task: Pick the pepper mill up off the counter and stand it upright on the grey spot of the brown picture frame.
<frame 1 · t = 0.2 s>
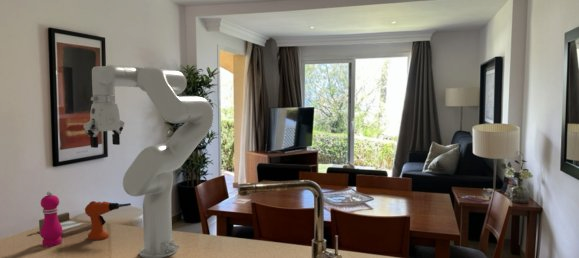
hand: (105, 145, 150), 37 cm above the counter, tool pointing down, fingers open, 9 cm apart
pepper mill: (52, 244, 151), on the counter
toy drill: (109, 238, 156), on the counter
brown picture frame: (65, 230, 166), on the counter
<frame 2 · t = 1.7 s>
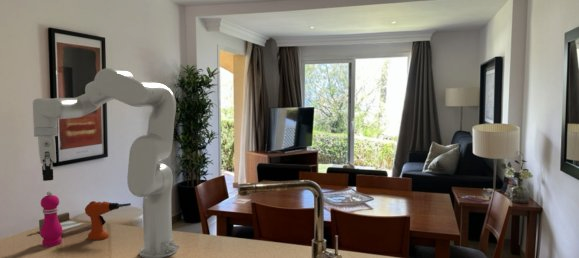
hand: (47, 177, 149), 25 cm above the counter, tool pointing down, fingers open, 9 cm apart
nothing on the counter moved.
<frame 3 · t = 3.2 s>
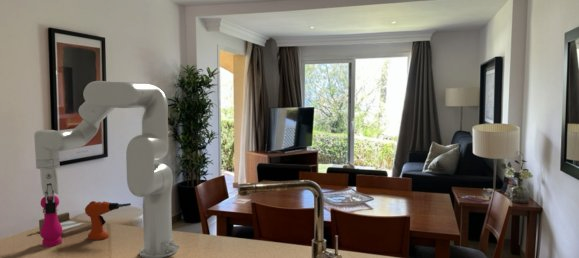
hand: (50, 210, 149), 13 cm above the counter, tool pointing down, fingers closed on pepper mill, 5 cm apart
pepper mill: (52, 244, 151), on the counter, touching gripper
everything else where it was.
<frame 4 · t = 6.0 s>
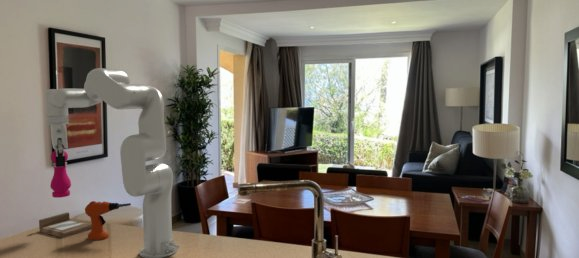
hand: (59, 164, 160), 28 cm above the counter, tool pointing down, fingers closed on pepper mill, 5 cm apart
pepper mill: (61, 196, 161), point 15 cm above the counter, touching gripper
everything else where it was.
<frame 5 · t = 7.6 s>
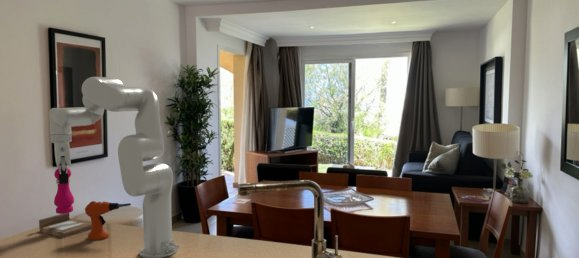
hand: (63, 181, 164), 20 cm above the counter, tool pointing down, fingers closed on pepper mill, 5 cm apart
pepper mill: (64, 212, 165), point 8 cm above the counter, touching gripper
everything else where it was.
when the fingers open (16 cm above the counter, at t = 8.9 s): pepper mill drops 1 cm, resting on brown picture frame.
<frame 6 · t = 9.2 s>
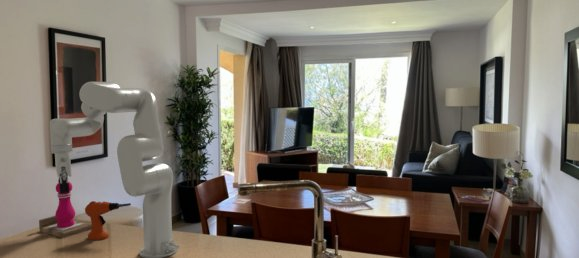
hand: (63, 190, 164), 17 cm above the counter, tool pointing down, fingers open, 8 cm apart
pepper mill: (65, 225, 165), point 2 cm above the counter, touching brown picture frame
everything else where it was.
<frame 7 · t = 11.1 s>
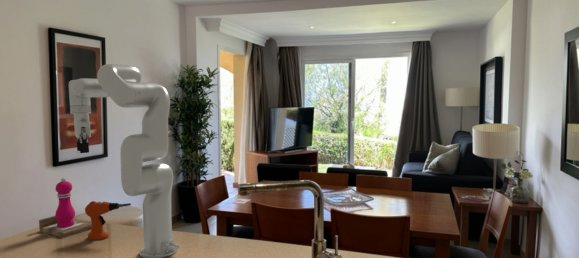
hand: (83, 151, 165), 32 cm above the counter, tool pointing down, fingers open, 9 cm apart
nothing on the counter moved.
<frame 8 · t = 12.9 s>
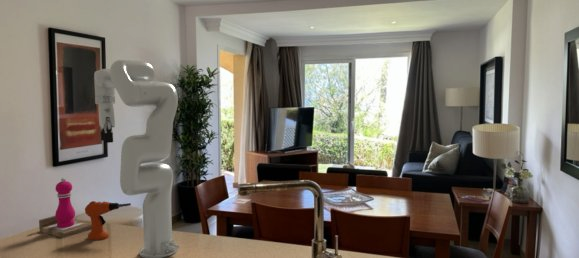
hand: (107, 141, 168), 36 cm above the counter, tool pointing down, fingers open, 9 cm apart
nothing on the counter moved.
at the end: pepper mill inside the target area on the brown picture frame (0.2 cm from its centre), point 1.8 cm above the brown picture frame's base; pepper mill tilted 0°; the gripper is holding nothing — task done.
